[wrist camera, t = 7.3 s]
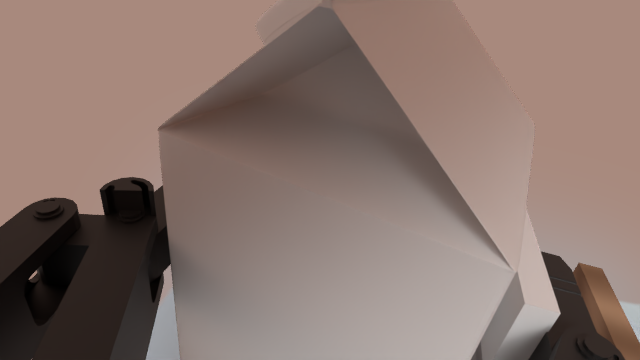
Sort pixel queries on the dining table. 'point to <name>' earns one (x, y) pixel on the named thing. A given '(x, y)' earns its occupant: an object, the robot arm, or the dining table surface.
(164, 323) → the dining table surface
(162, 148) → the milk carton
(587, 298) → the walnut wall
